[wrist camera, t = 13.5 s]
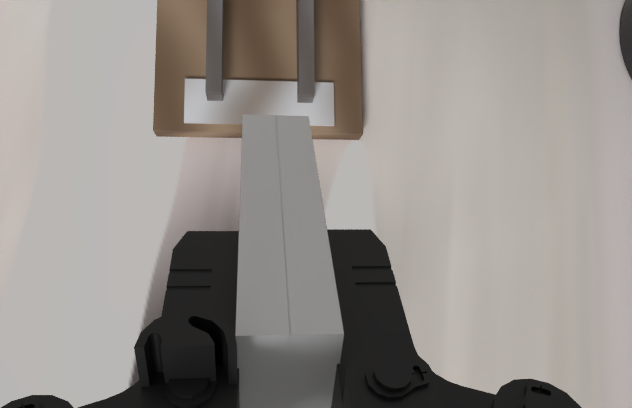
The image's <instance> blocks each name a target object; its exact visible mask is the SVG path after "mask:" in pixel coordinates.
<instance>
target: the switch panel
mask: <svg viewBox="0 0 632 408" xmlns="http://www.w3.org/2000/svg"><path fill="white" fill-rule="evenodd" d="M155 63H156V64H155V92H154V124H153V131H154V132H155V134H156V136H170V137H227V138H242V123H243V115H284V116H309V122H310V128H311V134H312V139H345V140H359V139H360V137H361V136H362V134H363V117H362V80H361V43H360V5H359V0H158V2H157V33H156V61H155Z"/></svg>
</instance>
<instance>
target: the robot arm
mask: <svg viewBox="0 0 632 408" xmlns="http://www.w3.org/2000/svg"><path fill="white" fill-rule="evenodd" d="M620 43H621V50H622V54H623V58H624V62H625V65H626V68H627V70H628V72H629V75H630V77H631V79H632V0H626V2H625V5H624V8H623V12H622V16H621V23H620ZM134 349H135V355H136V361H137V367H138V373H139V379H140V380H139V381H138V382H136V383H135V384H134V385H133V386H131V387H130V388H128V389H127V390H125V391H124V392H122V393H120V394H117V395H115V396H112V397H110V398H107V399H105V400H101V401H98V402H95V403H91V404H88V405H85V406H82V407H78V408H581V407H580V406H579V405H578V404H577V403H576V402H575V401H574V400H573V399H572V398H571V397H570V396H569V395H568V394H567V393H565V392H564V391H562V390H560V389H558V388H556V387H555V386H553V385H551V384H549V383H546V382H542V381H538V380H534V379H519V380H513V381H511V382H509V383H507V384H505V385H503V386H501V388H500V389H499V391H498V393H497V394H496V395H494V394H490V393H486V392H483V391H479V390H475V389H471V388H467V387H463V386H460V385H457V384H454V383H451V382H449V381H447V380H445V379H443V378H442V377H440V376H438V375H436V374H435V373H434V372H433V371H432V370H431V368H430V367H429V365H428V364H427V363H426V362H425V361H424V360H423V359H422V358H420V357H419V356H418V354H417V352H416V350H415V347H414V345H413V341H412V338H411V334H410V331H409V327H408V324H407V320H406V317H405V313H404V310H403V306H402V303H401V299H400V295H399V292H398V288H397V286H396V281H395V278H394V274H393V271H392V270H391V264H390V260H389V257H388V253H387V250H386V246H385V245H384V244H383V243H382V242H381V241H380V240H379V239H378V237H377V236H376V235H375V234H374V233H373V232H372V231H371V230H327V226H326V220H325V214H324V208H323V202H322V196H321V189H320V183H319V177H318V171H317V165H316V159H315V153H314V147H313V140H312V134H311V128H310V122H309V116H284V115H243V123H242V153H241V183H240V214H239V231H187V232H186V234H185V235H184V236H183V237H182V239H181V240H180V241H179V242H178V244H177V245H176V246H175V247H174V249H173V253H172V259H171V265H170V273H169V276H168V282H167V291H166V294H165V300H164V305H163V311H162V317H160V318H158V319H156V320H154V321H153V322H152V323H151V324H150V325H149V326H147V327H146V328H145V329H144V330H143V331H142V332H141V334H140V336H139V338H138V340H137V342H136V344H135V347H134ZM1 408H73V407H72V405H71V404H70V403H69V402H68V401H65V400H63V399H60V398H58V397H55V396H53V395H32V396H28V397H25V398H21V399H18V400H15V401H11V402H10V403H8V404H7V405H5V406H3V407H1Z"/></svg>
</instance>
